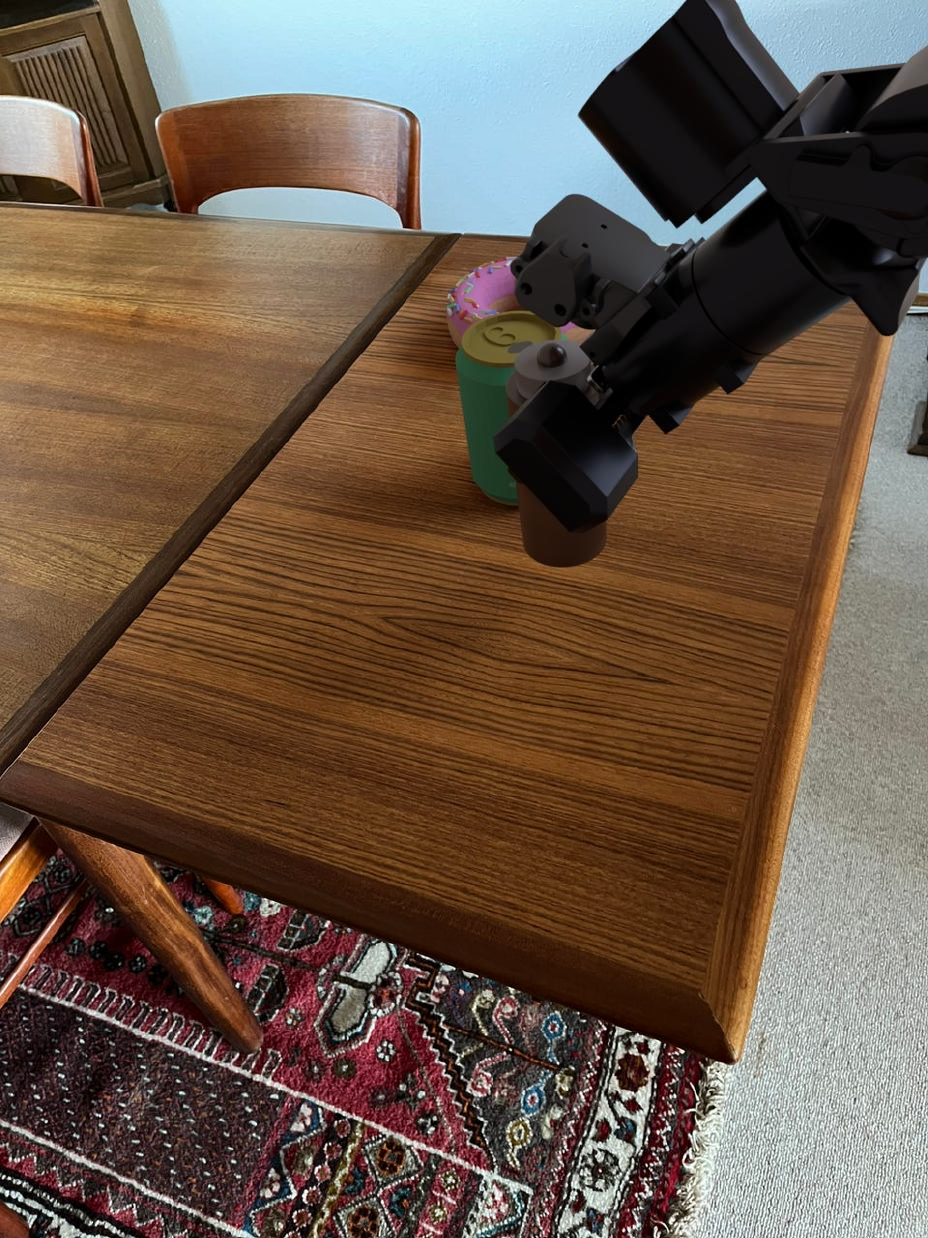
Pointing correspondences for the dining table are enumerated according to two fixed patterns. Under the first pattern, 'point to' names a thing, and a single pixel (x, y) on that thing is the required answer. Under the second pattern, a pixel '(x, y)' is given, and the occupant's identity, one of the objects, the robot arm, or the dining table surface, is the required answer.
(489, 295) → the donut
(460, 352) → the beverage can
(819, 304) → the robot arm
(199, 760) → the dining table surface
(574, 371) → the pepper mill
